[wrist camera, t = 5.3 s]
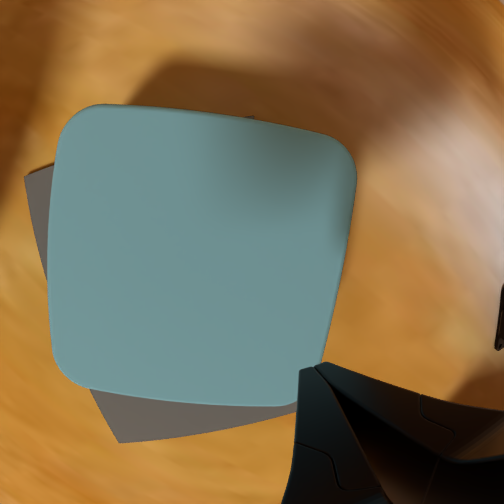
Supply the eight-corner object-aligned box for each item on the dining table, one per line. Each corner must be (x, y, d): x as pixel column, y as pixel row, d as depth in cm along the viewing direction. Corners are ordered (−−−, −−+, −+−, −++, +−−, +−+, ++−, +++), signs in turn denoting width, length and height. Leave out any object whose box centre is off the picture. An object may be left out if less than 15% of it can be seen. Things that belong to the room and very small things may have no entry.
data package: (323, 154, 16) (97, 124, 14) (364, 143, 12) (63, 102, 9) (286, 363, 18) (83, 342, 16) (310, 407, 14) (55, 383, 11)
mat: (252, 116, 15) (253, 115, 15) (303, 406, 19) (304, 409, 19) (26, 176, 14) (24, 176, 14) (119, 440, 18) (119, 443, 17)
